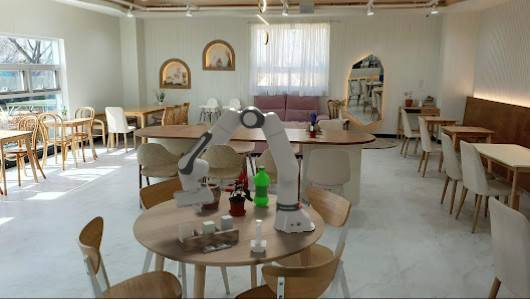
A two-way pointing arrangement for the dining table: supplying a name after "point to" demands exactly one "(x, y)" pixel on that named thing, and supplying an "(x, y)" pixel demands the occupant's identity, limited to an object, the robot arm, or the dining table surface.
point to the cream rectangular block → (185, 231)
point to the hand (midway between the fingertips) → (198, 212)
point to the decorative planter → (216, 193)
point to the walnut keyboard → (210, 240)
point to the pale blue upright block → (226, 222)
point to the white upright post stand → (258, 239)
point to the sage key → (208, 227)
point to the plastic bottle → (261, 187)
